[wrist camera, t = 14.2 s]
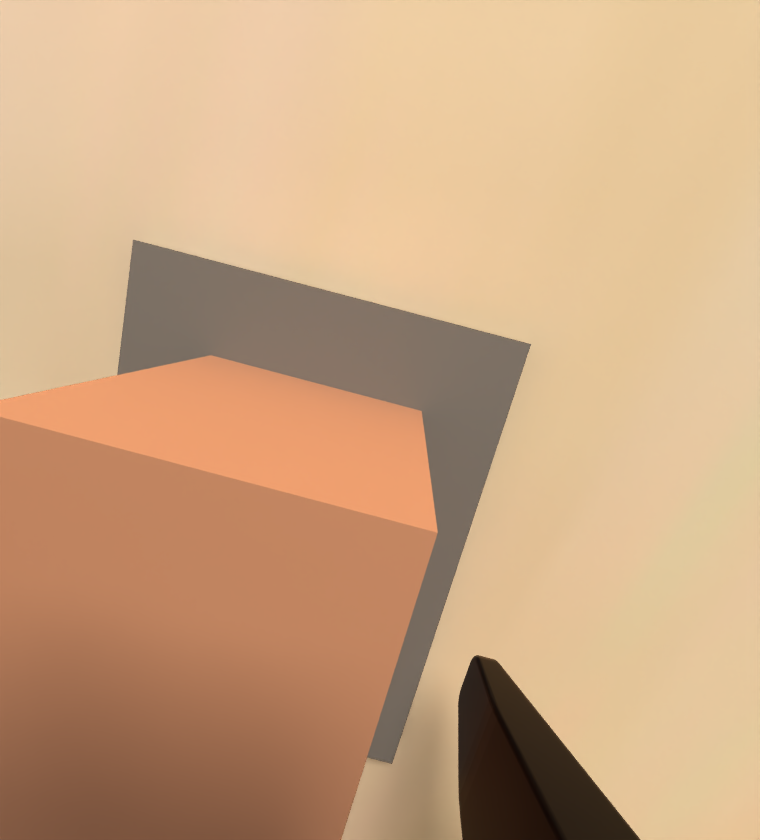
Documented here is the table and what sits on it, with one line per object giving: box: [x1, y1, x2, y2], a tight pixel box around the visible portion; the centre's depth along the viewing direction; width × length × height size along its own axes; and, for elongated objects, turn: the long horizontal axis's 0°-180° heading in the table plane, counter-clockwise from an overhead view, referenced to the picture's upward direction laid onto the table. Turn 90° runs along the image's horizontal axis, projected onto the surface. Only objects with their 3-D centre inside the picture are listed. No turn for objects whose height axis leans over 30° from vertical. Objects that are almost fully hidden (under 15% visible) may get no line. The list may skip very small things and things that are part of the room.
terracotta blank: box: [0, 355, 438, 840], centre depth 9 cm, size 8×5×6 cm, turn 165°
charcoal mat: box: [117, 240, 531, 764], centre depth 12 cm, size 9×12×1 cm
